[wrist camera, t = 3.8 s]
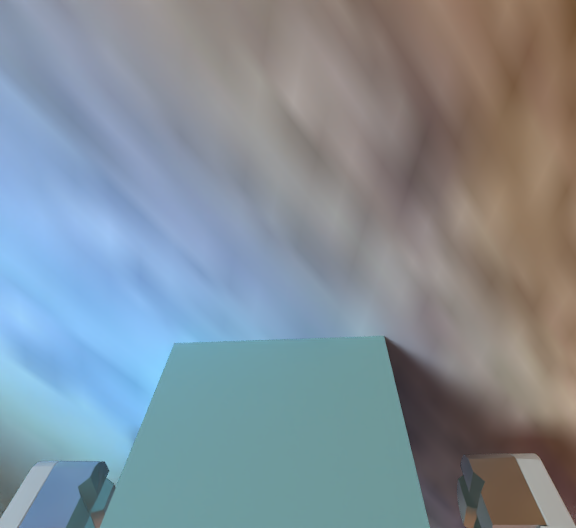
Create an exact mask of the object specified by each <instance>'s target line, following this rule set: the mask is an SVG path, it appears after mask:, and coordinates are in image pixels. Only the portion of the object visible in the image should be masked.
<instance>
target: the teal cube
mask: <svg viewBox="0 0 576 528" xmlns="http://www.w3.org/2000/svg"><path fill="white" fill-rule="evenodd" d="M100 528H430V526H429V521H428V517H427V513H426V509H425V505H424V501H423V496H422V492H421V488H420V484H419V480H418V476H417V471H416V467H415V463H414V459H413V455H412V451H411V446H410V442H409V438H408V434H407V430H406V426H405V421H404V417H403V413H402V409H401V405H400V401H399V397H398V392H397V388H396V384H395V380H394V376H393V372H392V367H391V363H390V359H389V355H388V351H387V347H386V342H385V338H384V336H372V337H342V338H312V339H283V340H253V341H223V342H194V343H174V346H173V348H172V351H171V353H170V356H169V358H168V360H167V363H166V365H165V368H164V370H163V373H162V375H161V378H160V380H159V383H158V385H157V388H156V390H155V392H154V395H153V397H152V400H151V402H150V405H149V407H148V410H147V412H146V415H145V417H144V420H143V422H142V424H141V427H140V429H139V432H138V434H137V437H136V439H135V442H134V444H133V447H132V449H131V452H130V454H129V457H128V459H127V461H126V464H125V466H124V469H123V471H122V474H121V476H120V479H119V481H118V484H117V486H116V489H115V491H114V493H113V496H112V498H111V501H110V503H109V506H108V508H107V511H106V513H105V516H104V518H103V521H102V523H101V525H100Z"/></svg>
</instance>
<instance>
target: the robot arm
mask: <svg viewBox="0 0 576 528" xmlns="http://www.w3.org/2000/svg"><path fill="white" fill-rule="evenodd" d="M460 466H461V469H462V472H463V476H461V477H460V478H459V479H458V485H457V496H458V505H459V510H460V514H461V517H462V521H463V524H464V526H465V527H467V528H576V525H575V523H574V521H573V519H572V517H571V515H570V513H569V511H568V510H567V508H566V506H565V504H564V502H563V500H562V498H561V496H560V495H559V493H558V491H557V489H556V487H555V485H554V483H553V482H552V480H551V478H550V476H549V474H548V472H547V470H546V468H545V467H544V465H543V463H542V461H541V459H540V457H538V456H537V455H536V454H535V453H522V454H509V453H498V454H467V455H463V457H462V459H461V465H460ZM108 472H109V470H108V467H107V465H106V463H105V462H100V461H39V462H38V463H36V464H35V465H34V466H33V467H32V468H31V469H30V471H29V473H28V474H27V476H26V478H25V479H24V481H23V482H22V484H21V486H20V487H19V489H18V491H17V492H16V494H15V495H14V497H13V499H12V500H11V502H10V504H9V505H8V507H7V508H6V510H5V512H4V513H3V515H2V517H1V518H0V528H100V525H101V523H102V521H103V518H104V516H105V513H106V511H107V508H108V506H109V503H110V501H111V498H112V496H113V493H114V491H115V489H116V488H115V485H114V483H112V482H111V481H110V480H108V479H107V478H106V477H107V475H108Z"/></svg>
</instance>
